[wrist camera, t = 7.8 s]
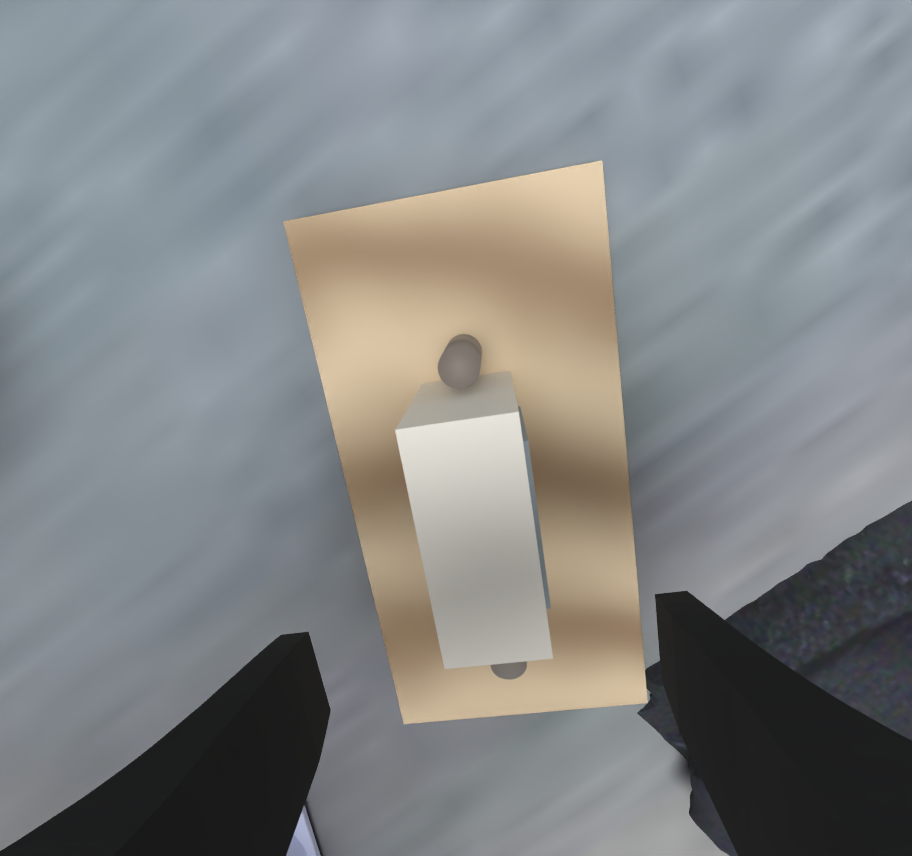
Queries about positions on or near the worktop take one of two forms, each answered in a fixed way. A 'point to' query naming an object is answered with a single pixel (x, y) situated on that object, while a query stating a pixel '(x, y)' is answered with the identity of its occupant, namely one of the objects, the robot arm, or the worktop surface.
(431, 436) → the white rectangular block
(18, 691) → the worktop surface
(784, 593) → the dark slate chunk
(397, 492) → the ledge
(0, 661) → the worktop surface
